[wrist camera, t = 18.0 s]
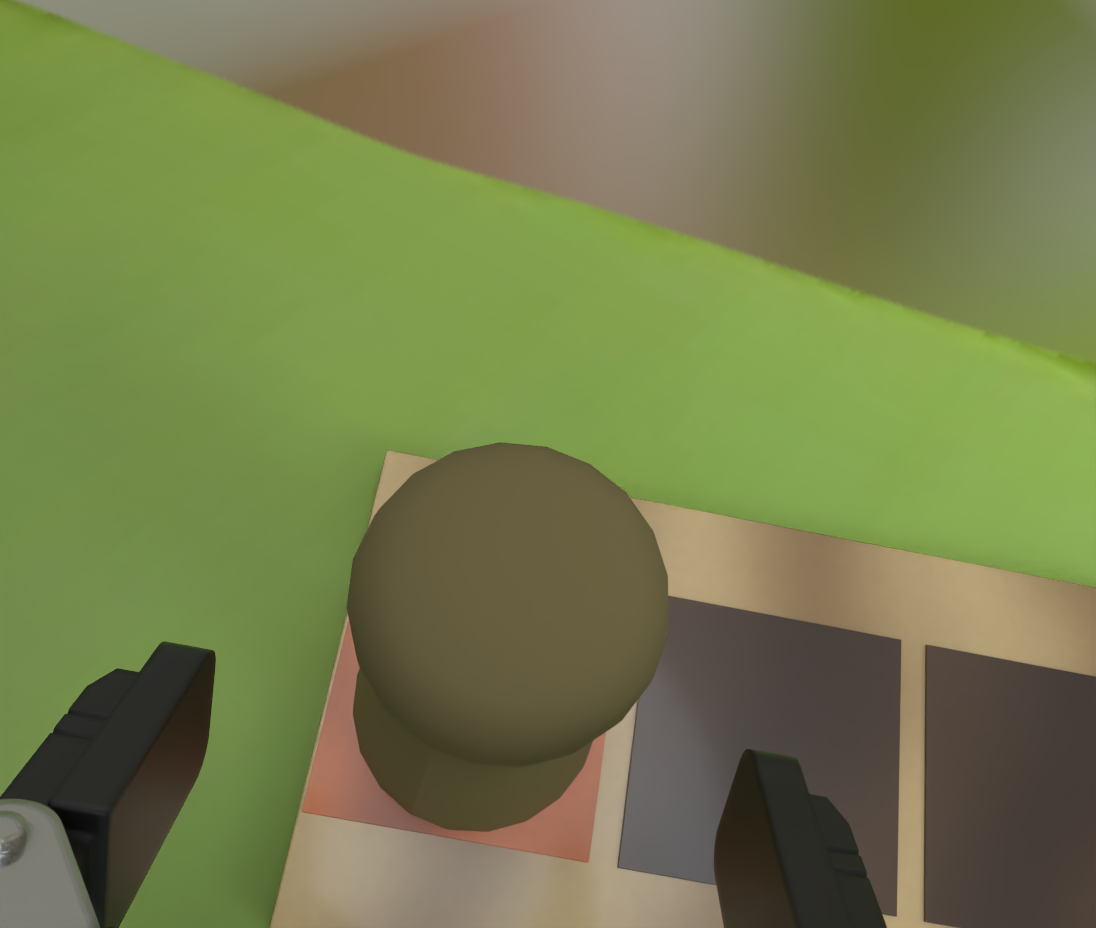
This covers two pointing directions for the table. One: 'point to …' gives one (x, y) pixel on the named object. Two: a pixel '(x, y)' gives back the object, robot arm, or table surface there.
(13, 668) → the table surface
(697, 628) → the board
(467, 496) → the olive brown pawn
